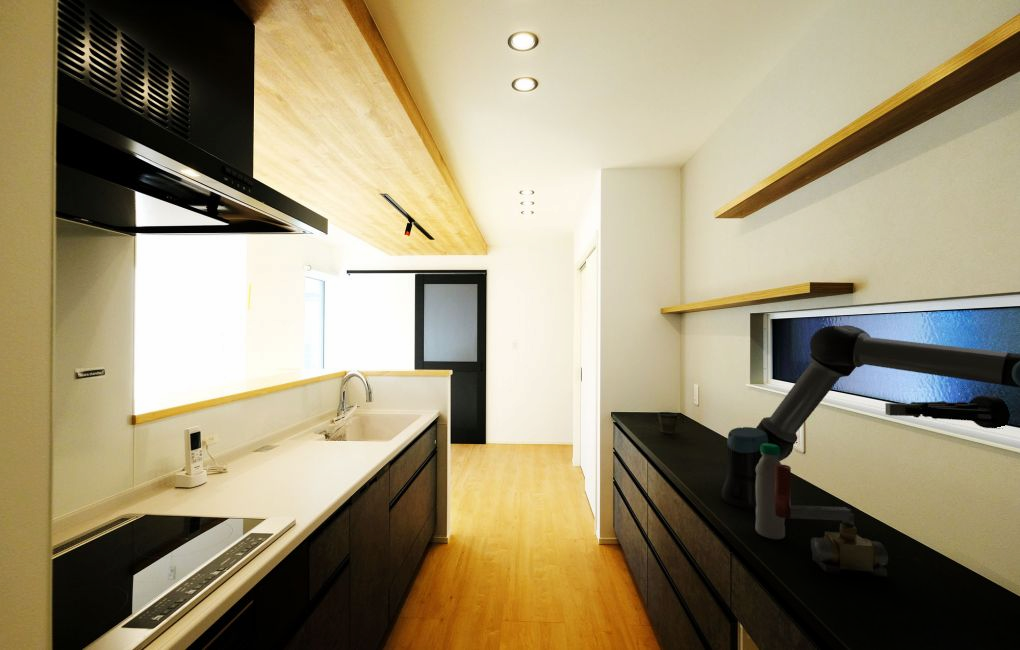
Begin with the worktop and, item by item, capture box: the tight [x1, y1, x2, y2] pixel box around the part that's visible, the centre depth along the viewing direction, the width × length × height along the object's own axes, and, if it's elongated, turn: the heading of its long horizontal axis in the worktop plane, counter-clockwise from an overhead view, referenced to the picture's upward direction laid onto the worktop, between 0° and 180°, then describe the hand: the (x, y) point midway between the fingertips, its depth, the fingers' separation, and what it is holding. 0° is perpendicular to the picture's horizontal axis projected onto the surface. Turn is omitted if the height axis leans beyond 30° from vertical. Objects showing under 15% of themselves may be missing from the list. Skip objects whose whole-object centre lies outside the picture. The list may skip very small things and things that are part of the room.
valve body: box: [810, 522, 889, 578], centre depth 102 cm, size 14×6×10 cm, turn 82°
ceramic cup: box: [657, 411, 683, 434], centre depth 232 cm, size 13×10×10 cm
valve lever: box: [775, 463, 855, 528], centre depth 103 cm, size 18×3×14 cm, turn 85°
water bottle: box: [754, 443, 786, 540], centre depth 119 cm, size 7×7×25 cm
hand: (887, 409), depth 103 cm, fingers closed
